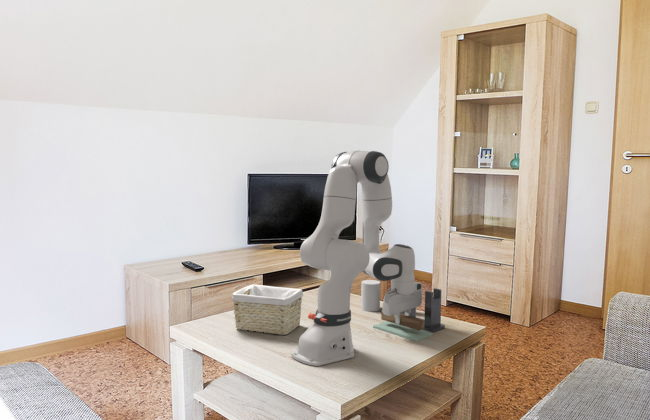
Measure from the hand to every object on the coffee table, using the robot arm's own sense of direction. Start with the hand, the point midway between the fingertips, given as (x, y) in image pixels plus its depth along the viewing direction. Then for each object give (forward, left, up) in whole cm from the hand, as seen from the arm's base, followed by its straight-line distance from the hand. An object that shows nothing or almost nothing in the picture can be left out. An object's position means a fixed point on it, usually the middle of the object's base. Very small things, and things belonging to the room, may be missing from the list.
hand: (402, 321), depth 204 cm
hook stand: (+11, 0, -4) cm, 11 cm away
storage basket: (-35, +39, -4) cm, 52 cm away
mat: (0, 0, -4) cm, 4 cm away
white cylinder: (+13, +28, -4) cm, 31 cm away
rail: (0, 0, -1) cm, 1 cm away
